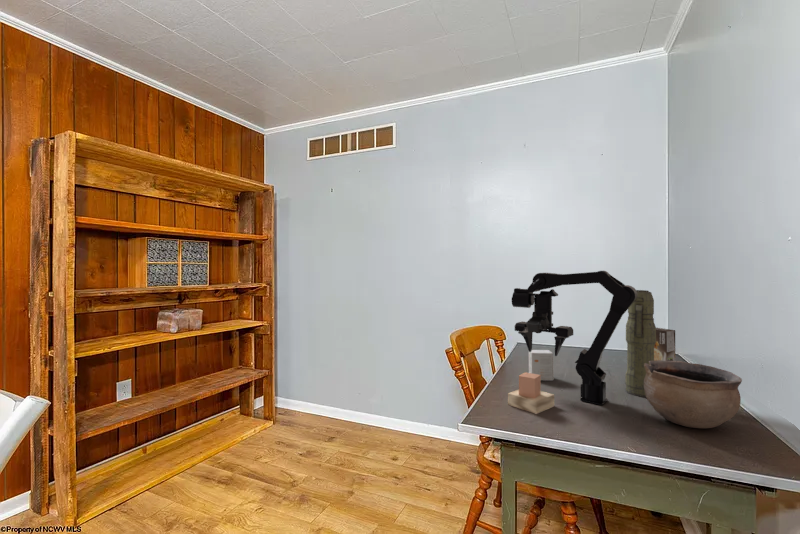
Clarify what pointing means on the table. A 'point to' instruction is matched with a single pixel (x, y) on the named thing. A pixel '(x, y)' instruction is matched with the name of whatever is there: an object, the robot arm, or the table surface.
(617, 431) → the table surface
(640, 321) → the thermos
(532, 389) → the terracotta block
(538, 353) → the small box
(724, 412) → the ceramic bowl
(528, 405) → the birch base block
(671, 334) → the coffee box
